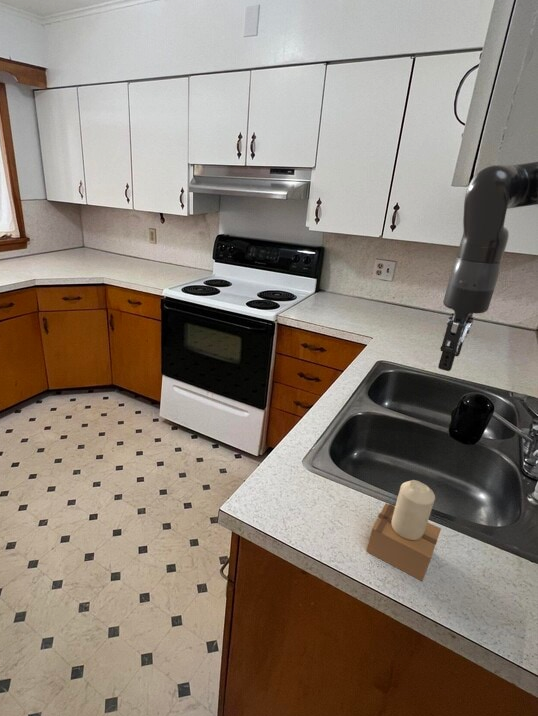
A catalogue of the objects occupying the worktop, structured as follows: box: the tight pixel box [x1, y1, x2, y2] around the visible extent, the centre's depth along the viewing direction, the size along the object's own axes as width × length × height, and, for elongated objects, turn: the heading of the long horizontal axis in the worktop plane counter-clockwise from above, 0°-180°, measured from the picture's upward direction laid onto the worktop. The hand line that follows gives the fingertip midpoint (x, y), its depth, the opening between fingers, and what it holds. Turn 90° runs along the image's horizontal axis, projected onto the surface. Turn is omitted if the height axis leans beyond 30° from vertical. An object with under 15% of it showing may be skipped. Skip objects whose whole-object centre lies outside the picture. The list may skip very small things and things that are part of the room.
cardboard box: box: [366, 502, 442, 582], centre depth 79 cm, size 10×8×6 cm
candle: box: [391, 479, 436, 540], centre depth 75 cm, size 6×6×10 cm
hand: (448, 361), depth 85 cm, fingers open, 8 cm apart
